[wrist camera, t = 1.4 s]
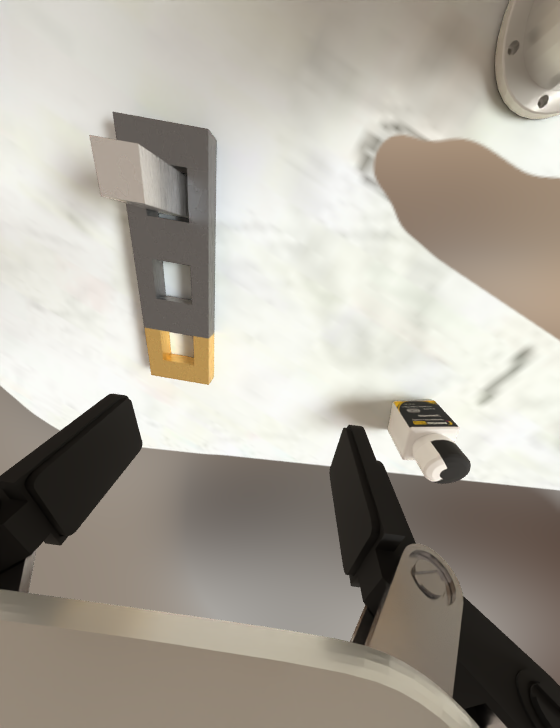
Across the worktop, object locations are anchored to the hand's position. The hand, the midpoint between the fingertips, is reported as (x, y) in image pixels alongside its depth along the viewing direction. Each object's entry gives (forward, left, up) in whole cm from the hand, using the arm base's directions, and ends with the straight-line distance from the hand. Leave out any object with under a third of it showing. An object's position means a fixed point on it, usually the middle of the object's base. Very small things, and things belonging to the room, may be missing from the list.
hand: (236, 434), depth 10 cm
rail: (-1, -15, -26) cm, 30 cm away
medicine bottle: (+16, +27, -26) cm, 41 cm away
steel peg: (-11, -15, -26) cm, 32 cm away
